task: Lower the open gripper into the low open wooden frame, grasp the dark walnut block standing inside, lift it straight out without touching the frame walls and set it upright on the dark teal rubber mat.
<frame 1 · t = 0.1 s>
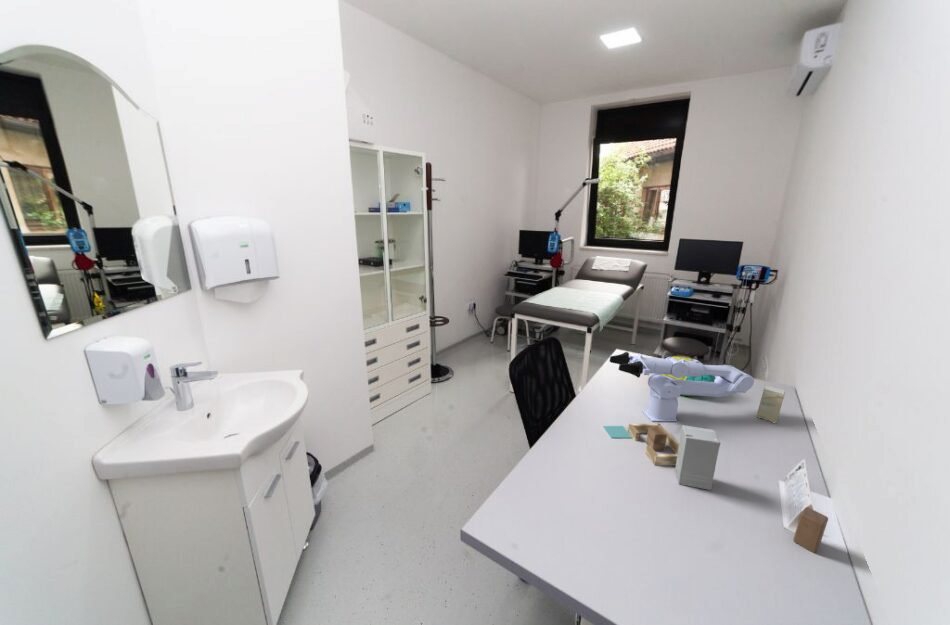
hand: (614, 363, 132), 22 cm above the table, tool horizontal, fingers open, 7 cm apart
open wooden frame: (656, 446, 119), on the table
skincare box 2: (766, 419, 139), on the table
walnut block: (655, 447, 119), resting in open wooden frame
skincare box: (691, 481, 104), on the table
brain model: (680, 390, 161), on the table
mat: (617, 432, 127), on the table
wooden block: (805, 544, 85), on the table
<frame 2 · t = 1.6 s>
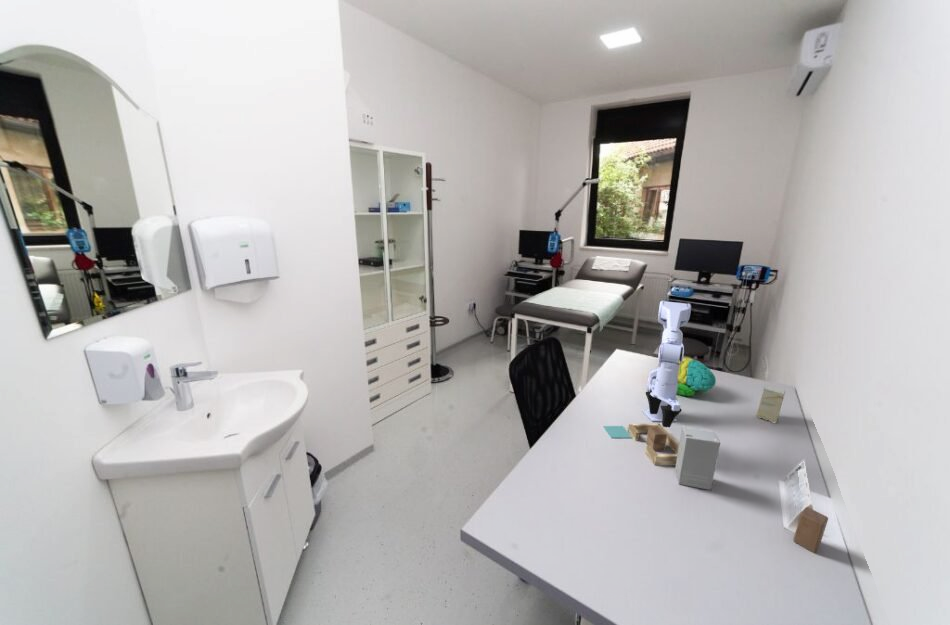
hand: (659, 419, 117), 10 cm above the table, tool pointing down, fingers open, 7 cm apart
nothing on the table moved.
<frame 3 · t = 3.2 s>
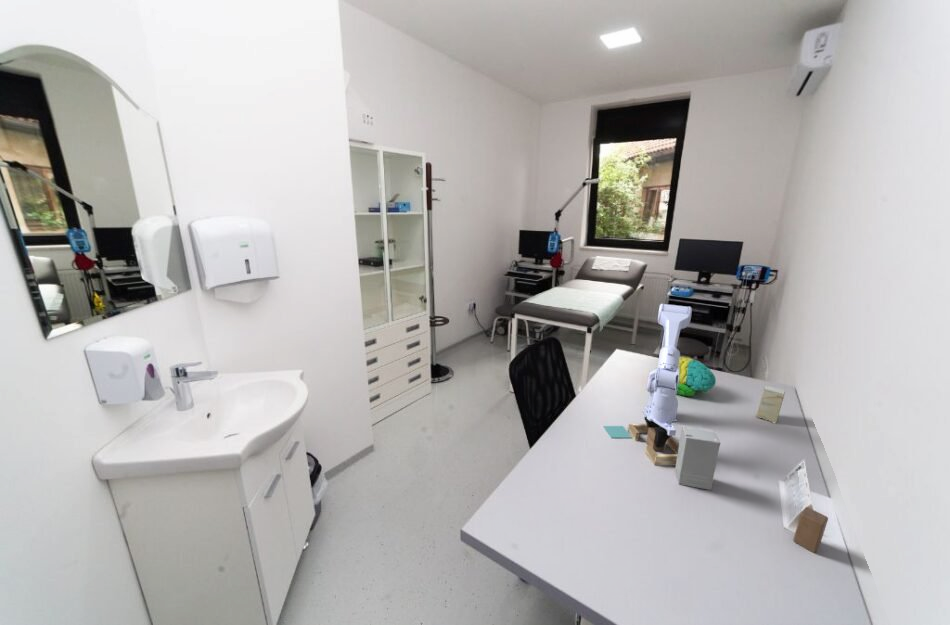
hand: (655, 442, 119), 2 cm above the table, tool pointing down, fingers closed on walnut block, 4 cm apart
walnut block: (655, 447, 119), resting in open wooden frame, touching gripper
everything else where it was.
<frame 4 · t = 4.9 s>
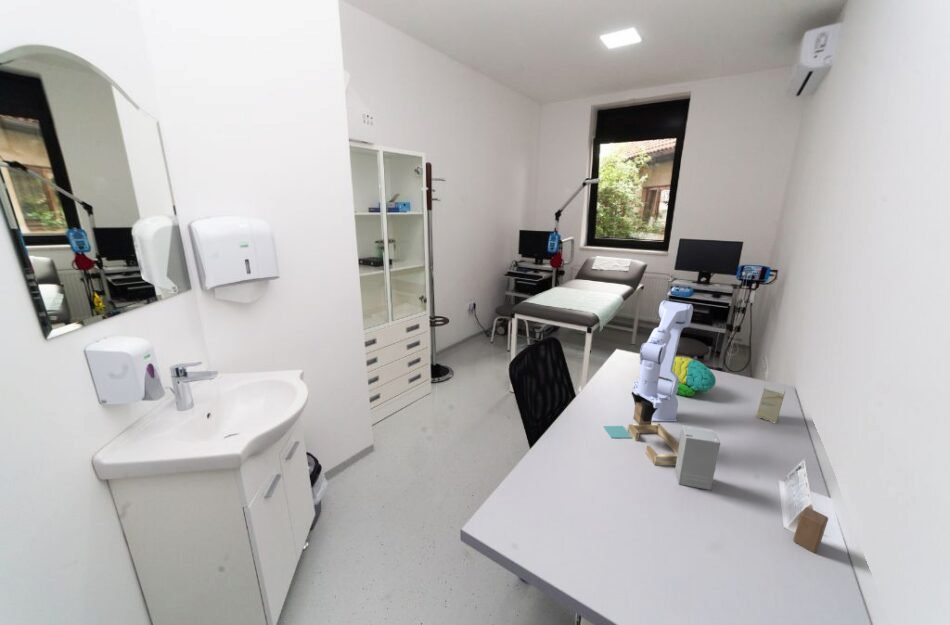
hand: (642, 417, 120), 9 cm above the table, tool pointing down, fingers closed on walnut block, 4 cm apart
walnut block: (642, 421, 121), point 7 cm above the table, touching gripper
everything else where it was.
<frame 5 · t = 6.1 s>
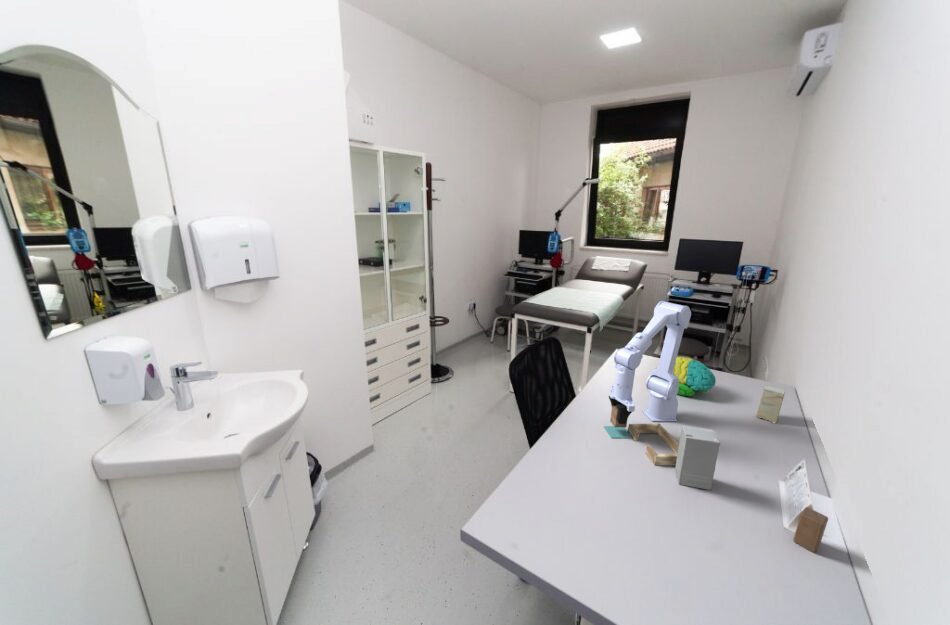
hand: (618, 419, 126), 5 cm above the table, tool pointing down, fingers closed on walnut block, 4 cm apart
walnut block: (618, 424, 126), point 3 cm above the table, touching gripper
everything else where it was.
when the fingers open (2 cm above the table, at t = 7.0 s): walnut block stays where it is, resting on mat.
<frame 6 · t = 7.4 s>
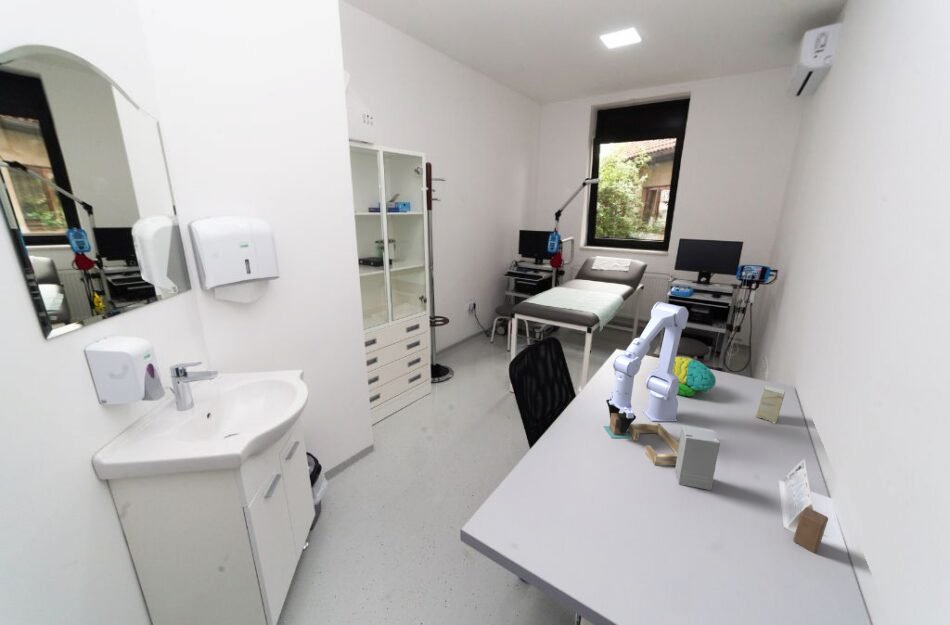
hand: (618, 425, 127), 3 cm above the table, tool pointing down, fingers open, 7 cm apart
walnut block: (617, 431, 127), resting on mat
everything else where it was.
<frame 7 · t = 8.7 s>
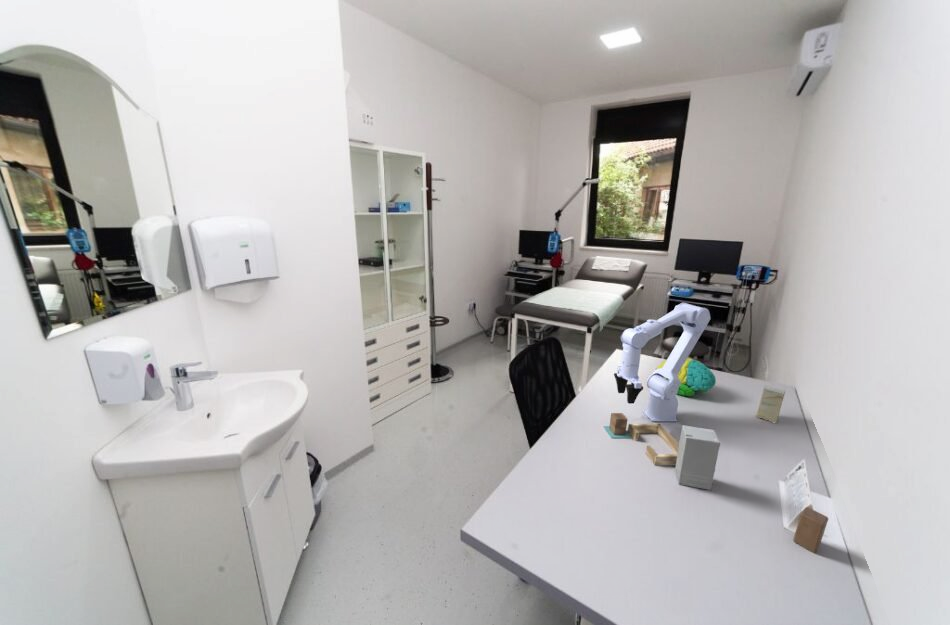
hand: (625, 397, 131), 10 cm above the table, tool pointing down, fingers open, 7 cm apart
nothing on the table moved.
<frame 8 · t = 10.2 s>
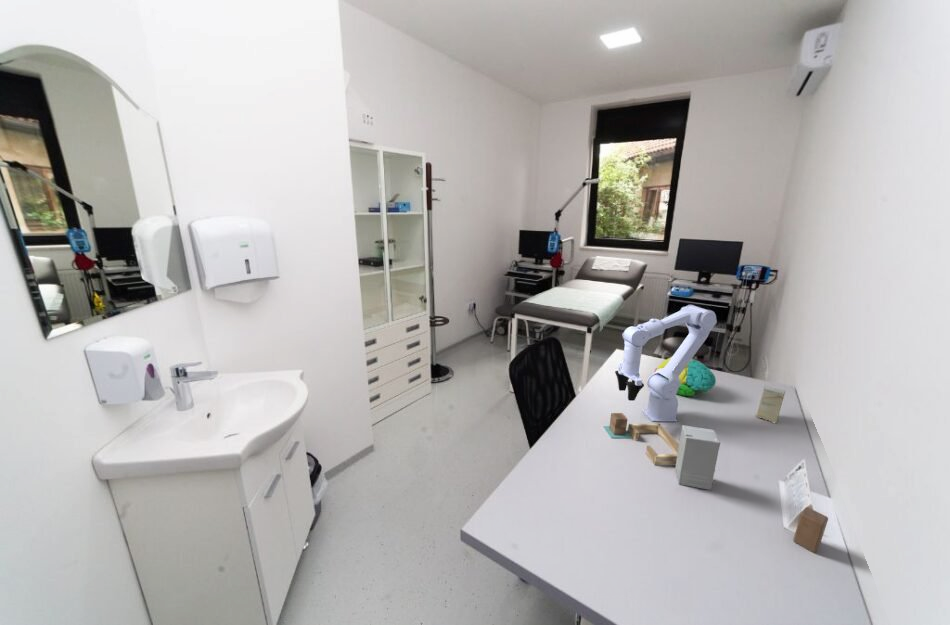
hand: (626, 395, 133), 10 cm above the table, tool pointing down, fingers open, 7 cm apart
nothing on the table moved.
at the end: walnut block inside the target area on the mat (0.1 cm from its centre), point 0.3 cm above the mat's base; walnut block tilted 0°; walnut block touching mat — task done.
